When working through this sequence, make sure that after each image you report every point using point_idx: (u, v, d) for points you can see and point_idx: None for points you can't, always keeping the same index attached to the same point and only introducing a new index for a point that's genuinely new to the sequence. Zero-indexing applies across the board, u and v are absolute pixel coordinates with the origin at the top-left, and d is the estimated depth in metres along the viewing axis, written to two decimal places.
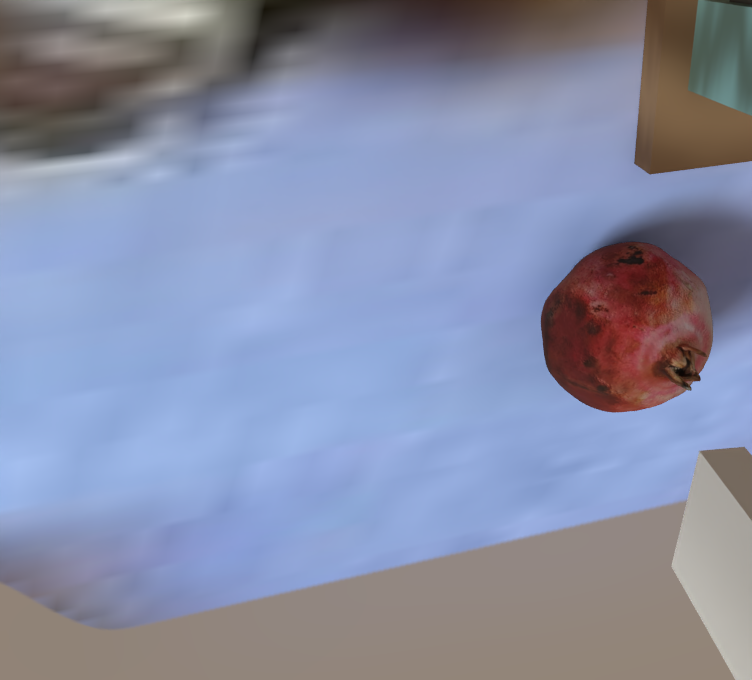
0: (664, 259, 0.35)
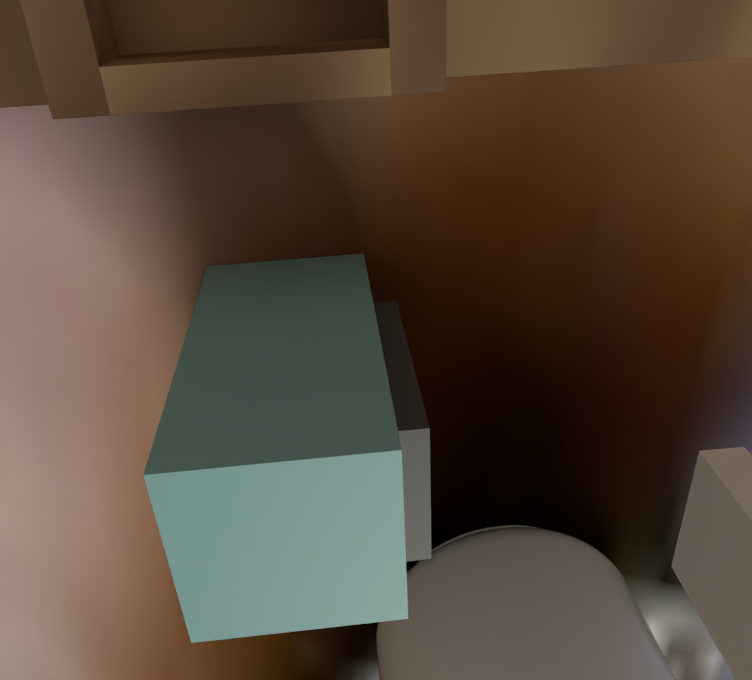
0: None
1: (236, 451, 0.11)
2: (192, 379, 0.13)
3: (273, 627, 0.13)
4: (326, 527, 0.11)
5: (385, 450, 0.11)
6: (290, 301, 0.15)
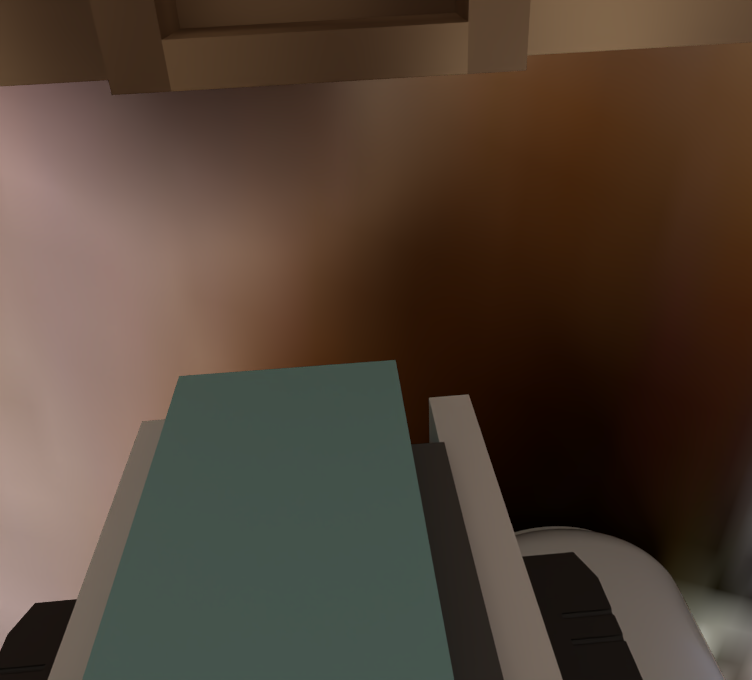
0: None
1: None
2: (131, 624, 0.08)
3: None
4: None
5: None
6: (291, 452, 0.11)
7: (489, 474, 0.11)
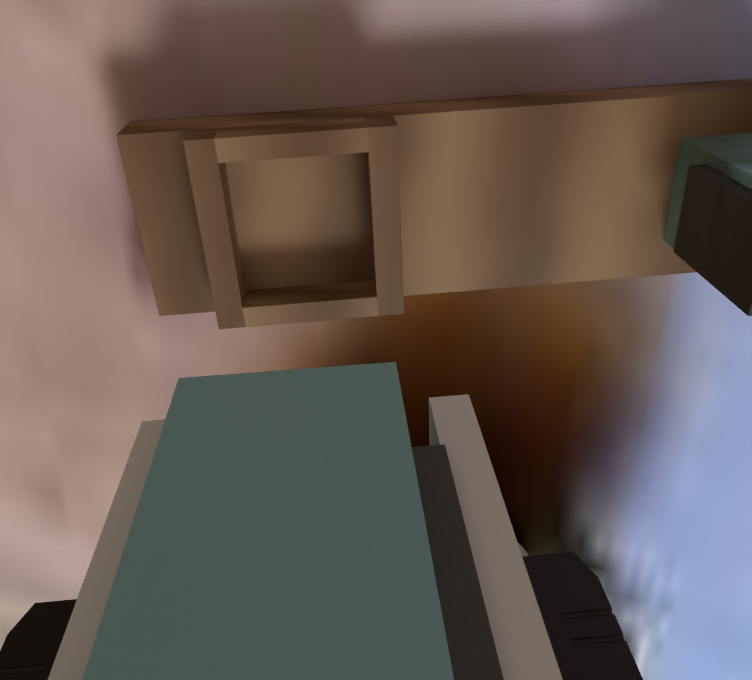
0: None
1: None
2: (130, 629, 0.08)
3: None
4: None
5: None
6: (291, 455, 0.11)
7: (489, 474, 0.11)
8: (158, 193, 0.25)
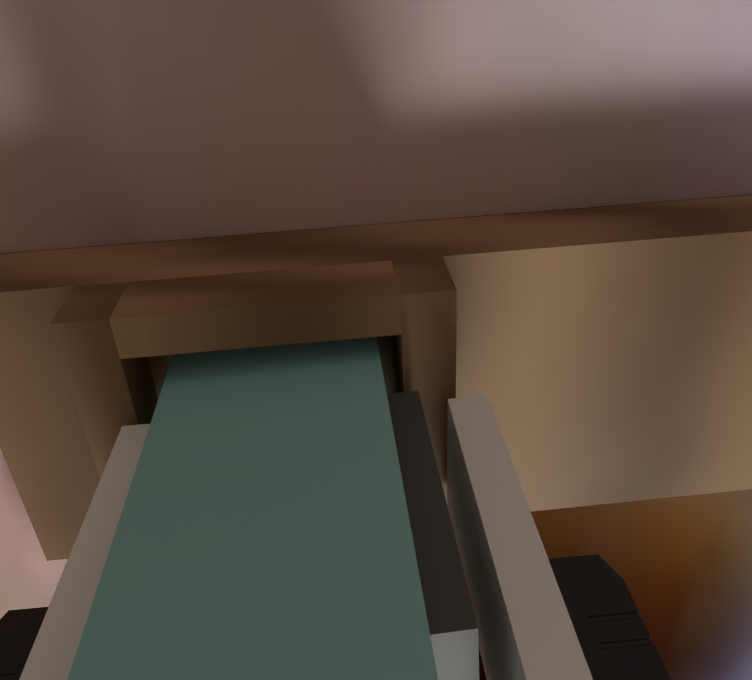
0: None
1: None
2: (138, 545, 0.09)
3: None
4: None
5: None
6: (278, 403, 0.12)
7: (512, 476, 0.11)
8: (26, 387, 0.14)
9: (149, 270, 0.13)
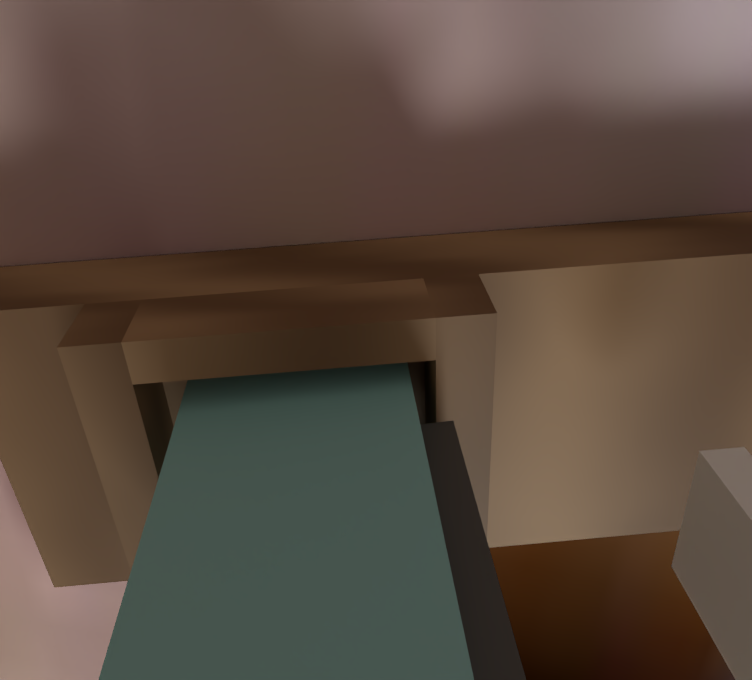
0: None
1: None
2: (152, 601, 0.08)
3: None
4: None
5: None
6: (303, 435, 0.11)
7: None
8: (33, 409, 0.13)
9: (164, 286, 0.13)
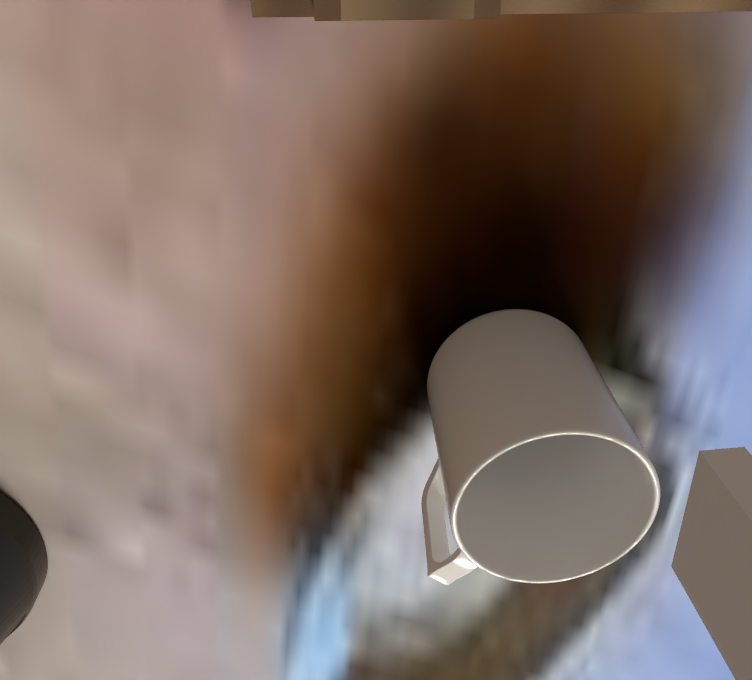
0: None
1: None
2: None
3: None
4: None
5: None
6: None
7: None
8: None
9: None
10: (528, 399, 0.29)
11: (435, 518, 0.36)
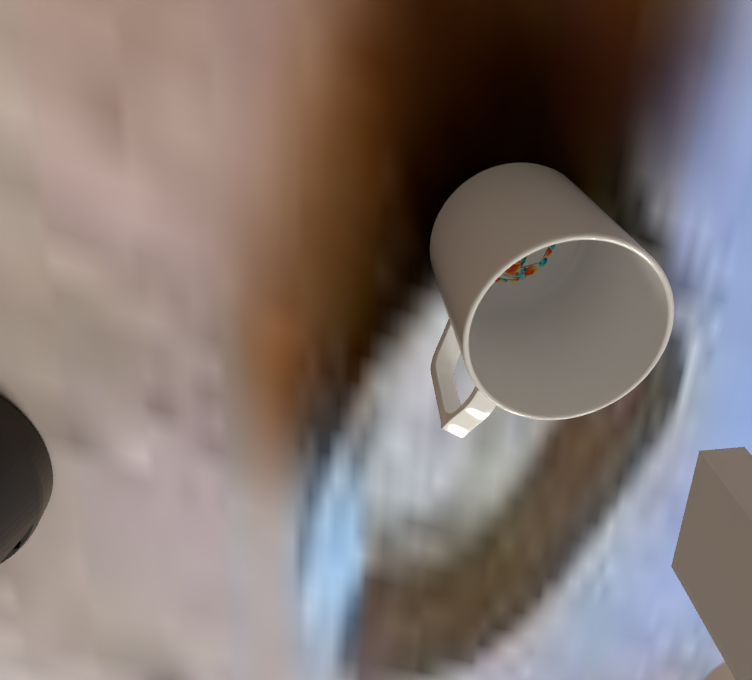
0: None
1: None
2: None
3: None
4: None
5: None
6: None
7: None
8: None
9: None
10: (535, 218, 0.28)
11: (445, 382, 0.36)
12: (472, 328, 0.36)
